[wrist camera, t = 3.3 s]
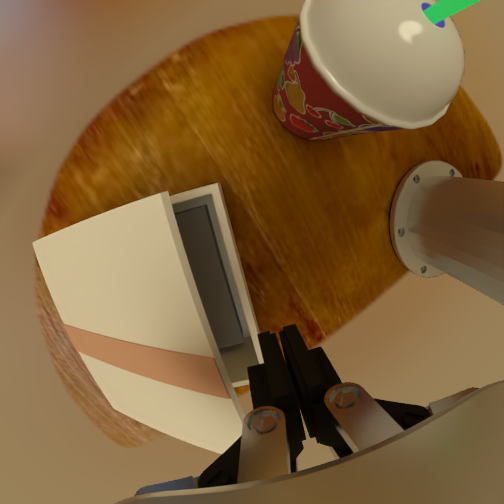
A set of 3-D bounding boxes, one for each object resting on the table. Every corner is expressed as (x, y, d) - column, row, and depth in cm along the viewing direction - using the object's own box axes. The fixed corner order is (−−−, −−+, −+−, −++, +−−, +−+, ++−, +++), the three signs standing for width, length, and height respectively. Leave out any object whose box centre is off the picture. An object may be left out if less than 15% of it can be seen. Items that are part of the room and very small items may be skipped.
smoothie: (354, 152, 23) (563, 141, 4) (263, 151, 23) (407, 58, 3) (346, 69, 21) (503, -32, 2) (258, 63, 20) (326, -122, 1)
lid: (167, 190, 9) (158, 193, 9) (264, 460, 13) (261, 466, 13) (36, 240, 16) (31, 243, 15) (116, 405, 20) (113, 409, 20)
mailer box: (220, 181, 23) (217, 183, 16) (260, 335, 27) (270, 378, 20) (79, 226, 23) (38, 243, 16) (133, 360, 27) (115, 402, 20)
